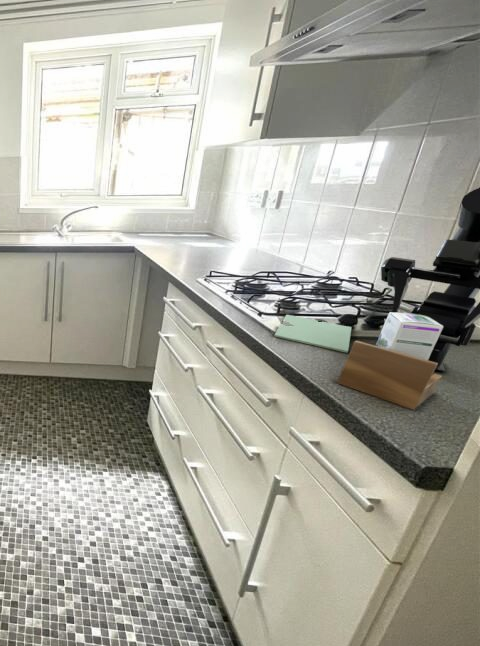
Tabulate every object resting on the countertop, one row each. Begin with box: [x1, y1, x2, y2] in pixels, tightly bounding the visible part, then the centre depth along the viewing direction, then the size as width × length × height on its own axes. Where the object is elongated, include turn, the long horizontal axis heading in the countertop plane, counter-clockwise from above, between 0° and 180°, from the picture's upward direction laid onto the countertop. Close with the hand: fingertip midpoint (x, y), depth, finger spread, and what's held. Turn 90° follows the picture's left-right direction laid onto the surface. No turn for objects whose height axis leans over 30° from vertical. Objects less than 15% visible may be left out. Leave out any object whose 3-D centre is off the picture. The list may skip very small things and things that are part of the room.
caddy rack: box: [337, 340, 442, 411], centre depth 78 cm, size 10×11×9 cm
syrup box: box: [375, 311, 443, 360], centre depth 77 cm, size 6×6×14 cm
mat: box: [273, 314, 352, 354], centre depth 106 cm, size 20×14×1 cm
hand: (427, 318), depth 76 cm, fingers open, 9 cm apart
